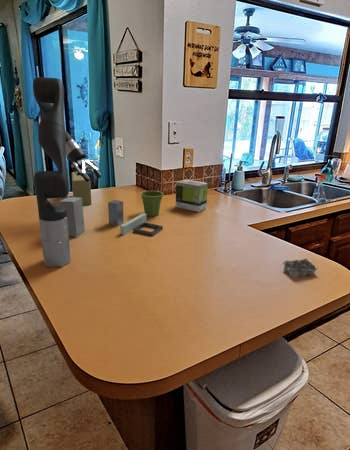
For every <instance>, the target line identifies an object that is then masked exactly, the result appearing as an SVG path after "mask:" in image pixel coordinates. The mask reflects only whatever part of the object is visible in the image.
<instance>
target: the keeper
mask: <svg viewBox="0 0 350 450" xmlns="http://www.w3.org/2000/svg"><path fill="white" fill-rule="evenodd" d="M145 227H148V228H151V229H154V230H152V231H149V230H146V229H145V230H144V229H143V228H145ZM163 227H164V226H163V225H158V224H155V223H150V222H149V223H148V222H144V223H142V224H140V225H139V226H137V227H135V228H134V229H133V230H132V232H133V233H137V234H140V235H144V236H149V237H154V236H155V235H156V234H158V233H159V232H161V231H162V230H163V229H164V228H163Z"/></svg>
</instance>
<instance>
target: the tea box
mask: <svg viewBox="0 0 350 450" xmlns="http://www.w3.org/2000/svg"><path fill="white" fill-rule="evenodd" d="M175 183H176V184H175V208H179V209H183V210H188V211H192V212H196V213H199V212H202V211H203V210H205V209H207V205H208V203H207V202H208V187H209V183H208V182H205V181H204V182H203V181H198V180H197V181H196V180H192V179H183V180H179V181H176V182H175Z"/></svg>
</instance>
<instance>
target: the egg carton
mask: <svg viewBox="0 0 350 450" xmlns="http://www.w3.org/2000/svg"><path fill="white" fill-rule="evenodd" d="M282 265H284V266H283V272H284V273H288V272H289V273H288V276H289V277H291V276H292V277H293V278H295V279H296V277H297V278H299V276H300V275H301V276H300V277H303V276H304V277H306V276H307V275H309V274H310V276H314V274H315V272H316V271H317V270H318V267H315V266H316V265H315V264H313V263H312V262H311V261H309V260H308V259H307V258H303V259H294V260H285V261H283V263H282ZM293 267H294V268H293ZM298 275H299V276H298Z"/></svg>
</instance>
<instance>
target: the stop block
mask: <svg viewBox="0 0 350 450" xmlns="http://www.w3.org/2000/svg"><path fill="white" fill-rule="evenodd" d="M107 207H108V208H107V209H108V213H107V214H108V225H110V226H114V227H119V226H121V225H123V224H124V223H125V222H124V201H123V200H118V199H113V200H111V201H108V203H107Z"/></svg>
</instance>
